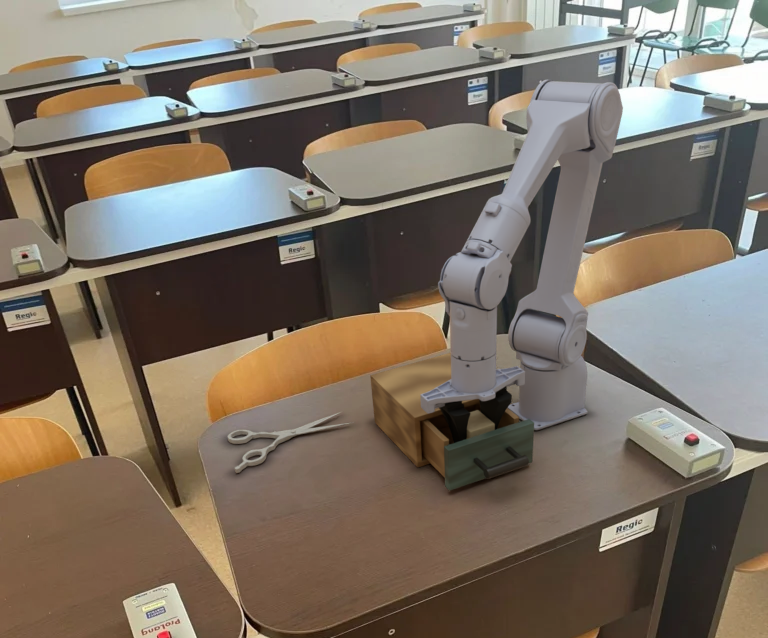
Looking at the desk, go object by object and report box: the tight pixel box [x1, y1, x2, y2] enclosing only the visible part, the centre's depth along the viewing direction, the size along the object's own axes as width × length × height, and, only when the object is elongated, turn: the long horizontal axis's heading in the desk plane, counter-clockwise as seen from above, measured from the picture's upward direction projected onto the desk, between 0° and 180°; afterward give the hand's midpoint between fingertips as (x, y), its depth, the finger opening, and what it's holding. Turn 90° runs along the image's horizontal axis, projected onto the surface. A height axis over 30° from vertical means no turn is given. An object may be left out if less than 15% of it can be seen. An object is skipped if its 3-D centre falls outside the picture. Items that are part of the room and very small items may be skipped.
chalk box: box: [467, 410, 495, 439], centre depth 102 cm, size 4×4×5 cm
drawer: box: [420, 403, 535, 491], centre depth 103 cm, size 18×13×6 cm
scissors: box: [227, 411, 355, 474], centre depth 115 cm, size 11×1×20 cm
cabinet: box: [369, 352, 480, 468], centre depth 111 cm, size 15×14×8 cm
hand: (473, 443), depth 103 cm, fingers closed on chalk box, 4 cm apart
